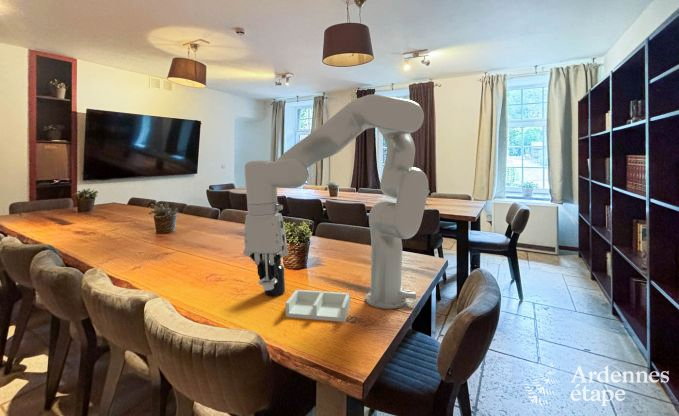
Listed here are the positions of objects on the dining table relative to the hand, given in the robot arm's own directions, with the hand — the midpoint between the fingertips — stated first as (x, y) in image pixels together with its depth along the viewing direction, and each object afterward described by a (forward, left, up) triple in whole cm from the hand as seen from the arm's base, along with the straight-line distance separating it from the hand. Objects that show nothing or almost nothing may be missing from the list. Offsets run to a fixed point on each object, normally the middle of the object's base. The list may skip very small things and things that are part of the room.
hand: (267, 277), depth 88 cm
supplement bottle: (+7, -22, -14) cm, 26 cm away
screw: (0, 0, -3) cm, 3 cm away
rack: (-11, -11, -14) cm, 20 cm away
